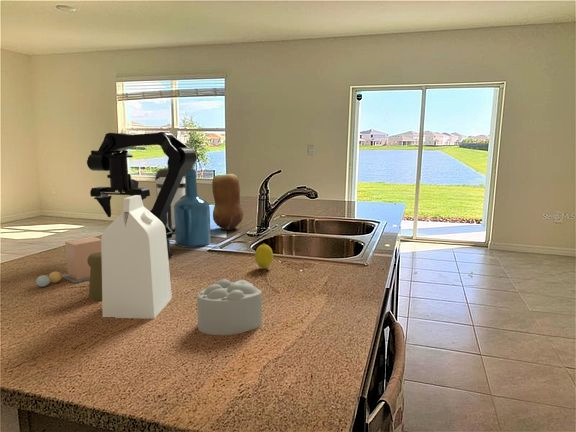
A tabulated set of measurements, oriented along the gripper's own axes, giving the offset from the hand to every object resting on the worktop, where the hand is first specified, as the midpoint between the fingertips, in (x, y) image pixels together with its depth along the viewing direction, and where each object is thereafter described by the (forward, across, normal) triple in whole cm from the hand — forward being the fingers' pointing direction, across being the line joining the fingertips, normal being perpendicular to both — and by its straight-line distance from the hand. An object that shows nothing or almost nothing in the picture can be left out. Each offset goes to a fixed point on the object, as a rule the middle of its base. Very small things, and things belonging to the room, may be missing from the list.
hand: (121, 217), depth 136 cm
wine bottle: (+13, -17, -19) cm, 29 cm away
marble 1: (+13, +3, +33) cm, 35 cm away
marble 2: (+13, +3, +29) cm, 32 cm away
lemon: (+13, -51, +7) cm, 53 cm away
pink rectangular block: (+13, -2, +22) cm, 26 cm away
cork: (+13, -16, +36) cm, 42 cm away
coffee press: (+13, +1, -42) cm, 44 cm away
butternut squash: (+13, -22, -47) cm, 54 cm away
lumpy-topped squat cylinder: (+13, -52, +46) cm, 71 cm away
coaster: (+13, -2, +22) cm, 26 cm away
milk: (+13, -29, +41) cm, 52 cm away
